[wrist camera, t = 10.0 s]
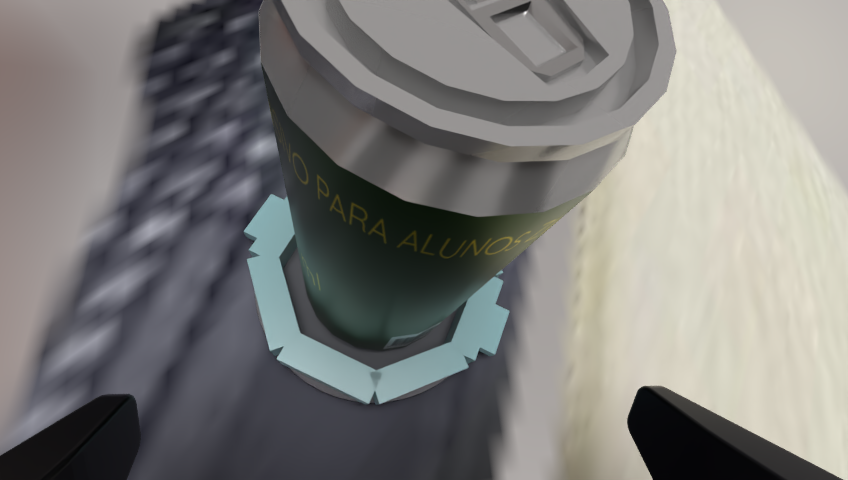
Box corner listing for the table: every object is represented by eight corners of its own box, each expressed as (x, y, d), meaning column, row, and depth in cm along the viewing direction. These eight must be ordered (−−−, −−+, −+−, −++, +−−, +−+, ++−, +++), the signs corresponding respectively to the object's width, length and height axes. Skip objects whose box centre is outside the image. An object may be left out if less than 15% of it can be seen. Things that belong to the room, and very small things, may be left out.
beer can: (473, 300, 16) (766, 58, 5) (359, 385, 14) (457, 277, 3) (395, 197, 17) (503, -176, 6) (278, 262, 15) (143, -133, 4)
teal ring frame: (451, 454, 14) (467, 459, 13) (188, 327, 14) (170, 315, 12) (523, 246, 18) (542, 229, 17) (319, 145, 18) (318, 118, 16)
